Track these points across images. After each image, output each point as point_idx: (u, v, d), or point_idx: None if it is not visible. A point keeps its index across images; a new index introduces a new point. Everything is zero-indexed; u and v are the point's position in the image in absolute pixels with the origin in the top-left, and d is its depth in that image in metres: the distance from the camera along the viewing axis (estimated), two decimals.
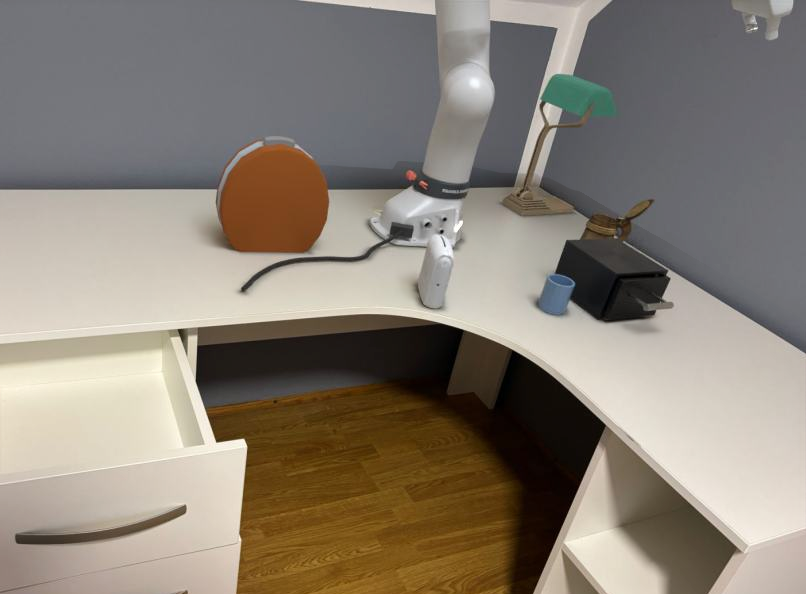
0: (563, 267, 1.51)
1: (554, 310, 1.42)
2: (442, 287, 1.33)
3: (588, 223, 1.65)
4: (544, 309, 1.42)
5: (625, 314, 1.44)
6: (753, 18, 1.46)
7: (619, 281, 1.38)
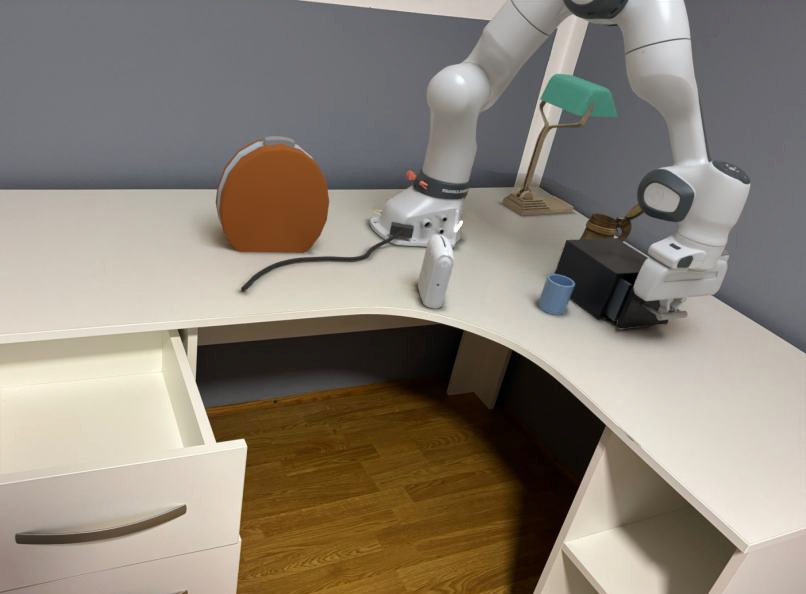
0: (563, 267, 1.51)
1: (554, 310, 1.42)
2: (442, 287, 1.33)
3: (588, 223, 1.65)
4: (544, 309, 1.42)
5: (638, 323, 1.41)
6: (677, 304, 1.36)
7: (632, 290, 1.36)
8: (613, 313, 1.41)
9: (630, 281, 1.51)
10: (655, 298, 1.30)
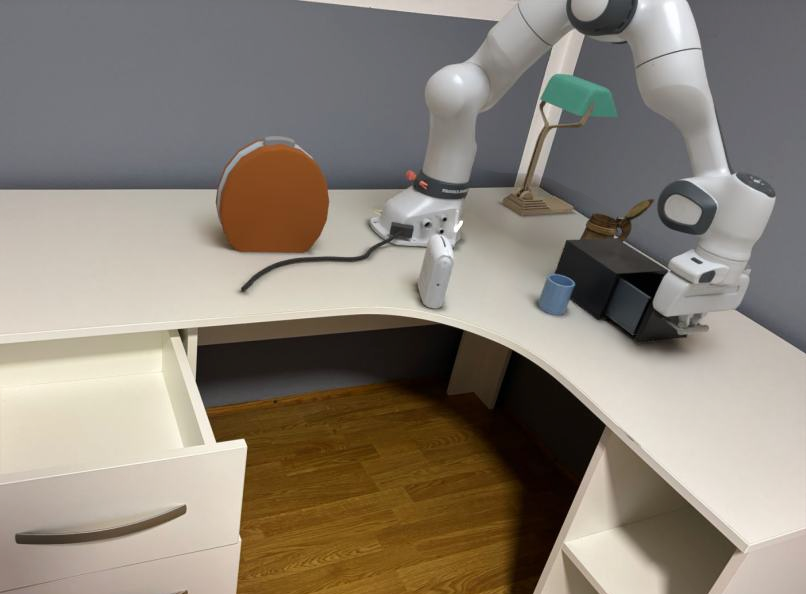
0: (563, 267, 1.51)
1: (554, 310, 1.42)
2: (442, 287, 1.33)
3: (588, 223, 1.65)
4: (544, 309, 1.42)
5: (657, 337, 1.37)
6: (697, 319, 1.32)
7: (652, 303, 1.32)
8: (632, 327, 1.37)
9: (648, 293, 1.47)
10: (675, 313, 1.26)
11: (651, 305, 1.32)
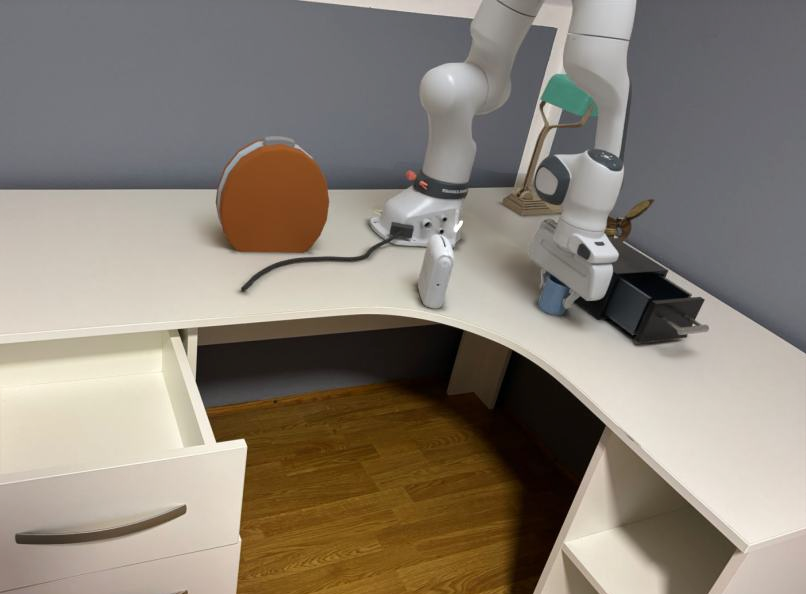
0: None
1: (554, 310, 1.42)
2: (442, 287, 1.33)
3: None
4: (544, 309, 1.42)
5: (657, 337, 1.37)
6: None
7: (652, 303, 1.32)
8: (632, 327, 1.37)
9: (648, 293, 1.47)
10: None
11: (651, 305, 1.32)
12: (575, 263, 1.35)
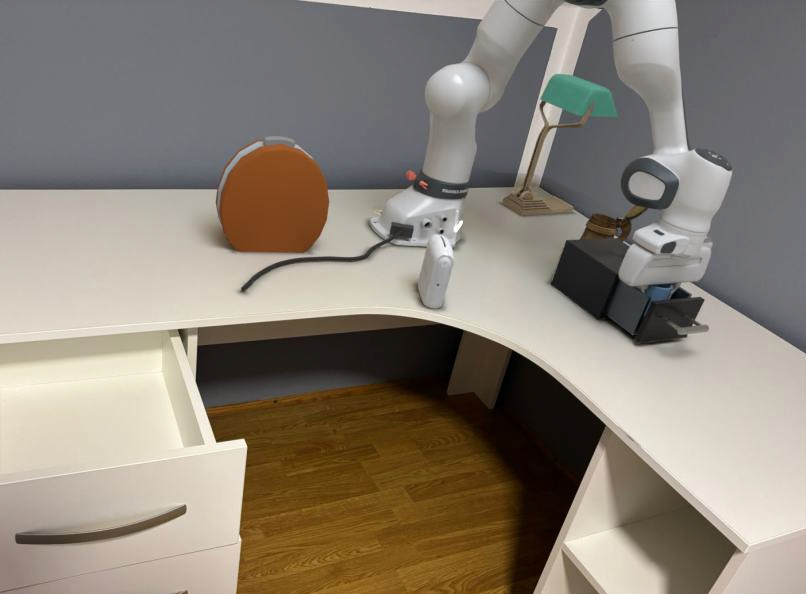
0: (563, 267, 1.51)
1: None
2: (442, 287, 1.33)
3: (588, 223, 1.65)
4: None
5: (657, 337, 1.37)
6: None
7: (652, 303, 1.32)
8: (632, 327, 1.37)
9: None
10: (639, 283, 1.33)
11: (651, 305, 1.32)
12: None
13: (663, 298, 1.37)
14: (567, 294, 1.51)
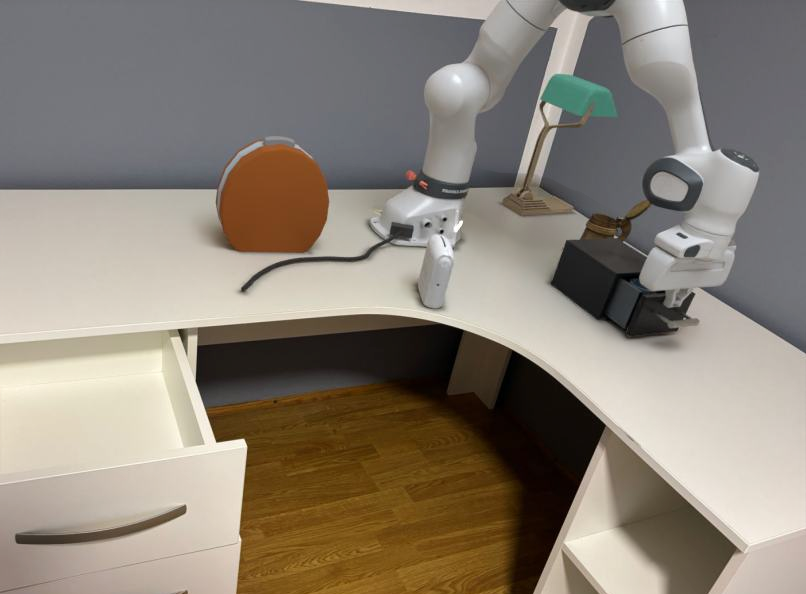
0: (563, 267, 1.51)
1: None
2: (442, 287, 1.33)
3: (588, 223, 1.65)
4: None
5: (648, 331, 1.39)
6: (683, 295, 1.34)
7: (643, 297, 1.33)
8: (623, 321, 1.39)
9: None
10: (661, 288, 1.28)
11: (642, 299, 1.34)
12: None
13: None
14: (567, 294, 1.51)
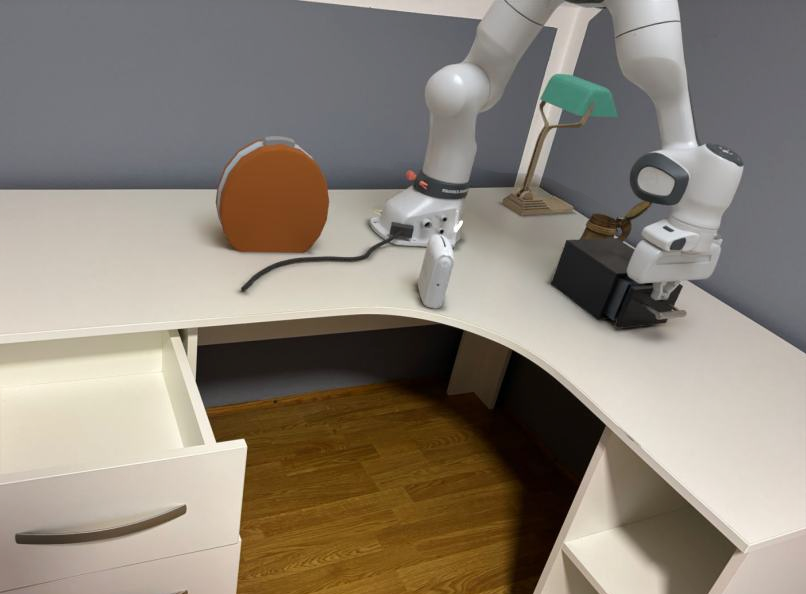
0: (563, 267, 1.51)
1: None
2: (442, 287, 1.33)
3: (588, 223, 1.65)
4: None
5: (637, 322, 1.41)
6: (670, 288, 1.37)
7: (631, 289, 1.36)
8: (612, 312, 1.41)
9: None
10: (648, 280, 1.31)
11: (630, 291, 1.36)
12: None
13: None
14: (567, 294, 1.51)
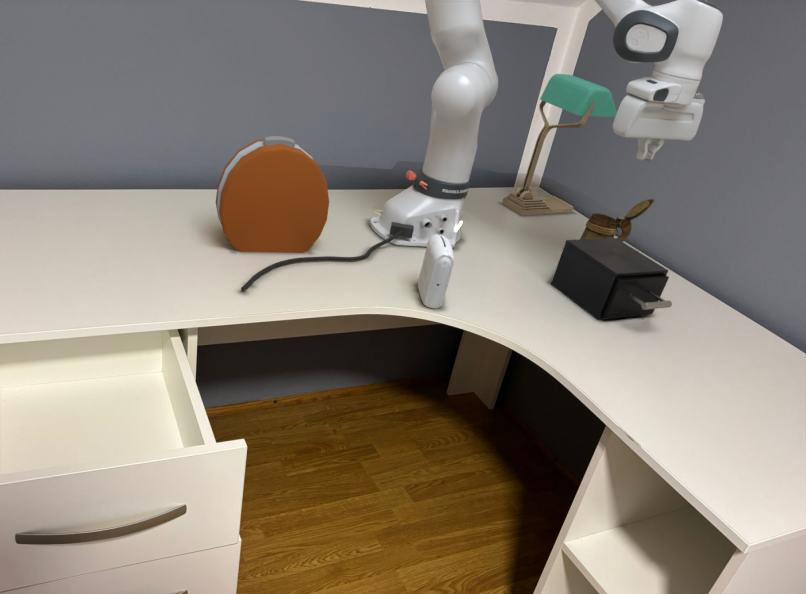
0: (563, 267, 1.51)
1: None
2: (442, 287, 1.33)
3: (588, 223, 1.65)
4: None
5: (624, 313, 1.44)
6: (655, 148, 1.42)
7: (617, 280, 1.39)
8: None
9: None
10: (633, 135, 1.36)
11: (617, 281, 1.39)
12: None
13: None
14: (567, 294, 1.51)
